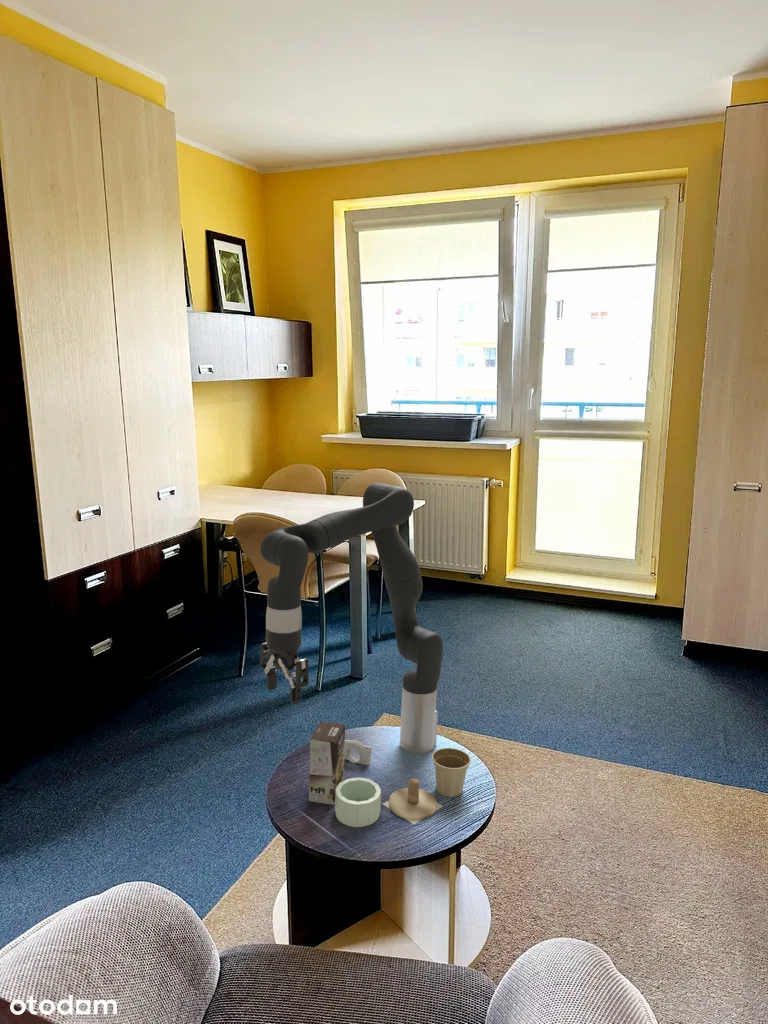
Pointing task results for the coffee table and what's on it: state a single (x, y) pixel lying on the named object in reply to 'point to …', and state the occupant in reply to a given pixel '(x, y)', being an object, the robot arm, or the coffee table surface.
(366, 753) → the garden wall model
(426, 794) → the lid
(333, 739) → the coffee box
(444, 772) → the flower pot
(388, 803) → the mat
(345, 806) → the bowl
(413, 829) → the coffee table surface
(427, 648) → the robot arm
